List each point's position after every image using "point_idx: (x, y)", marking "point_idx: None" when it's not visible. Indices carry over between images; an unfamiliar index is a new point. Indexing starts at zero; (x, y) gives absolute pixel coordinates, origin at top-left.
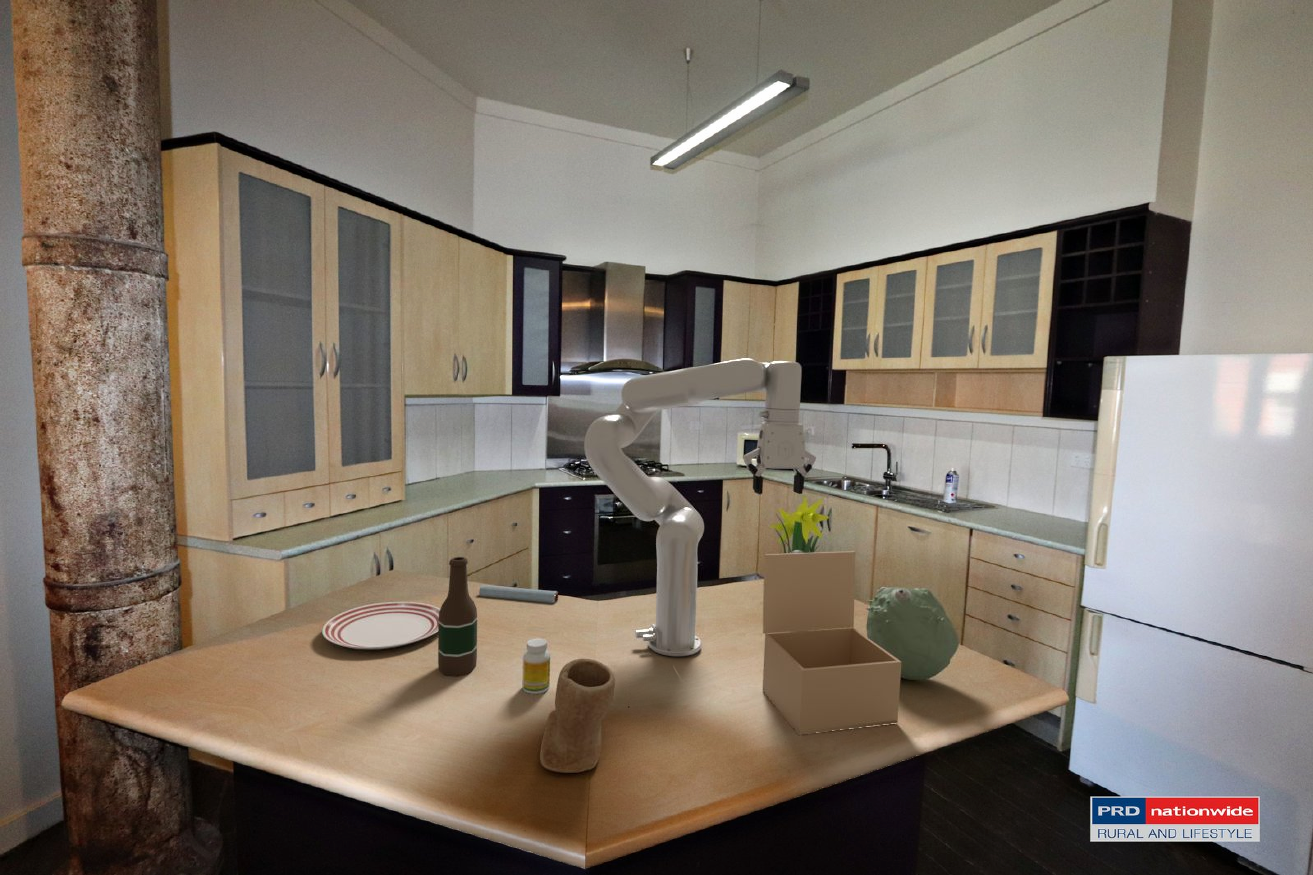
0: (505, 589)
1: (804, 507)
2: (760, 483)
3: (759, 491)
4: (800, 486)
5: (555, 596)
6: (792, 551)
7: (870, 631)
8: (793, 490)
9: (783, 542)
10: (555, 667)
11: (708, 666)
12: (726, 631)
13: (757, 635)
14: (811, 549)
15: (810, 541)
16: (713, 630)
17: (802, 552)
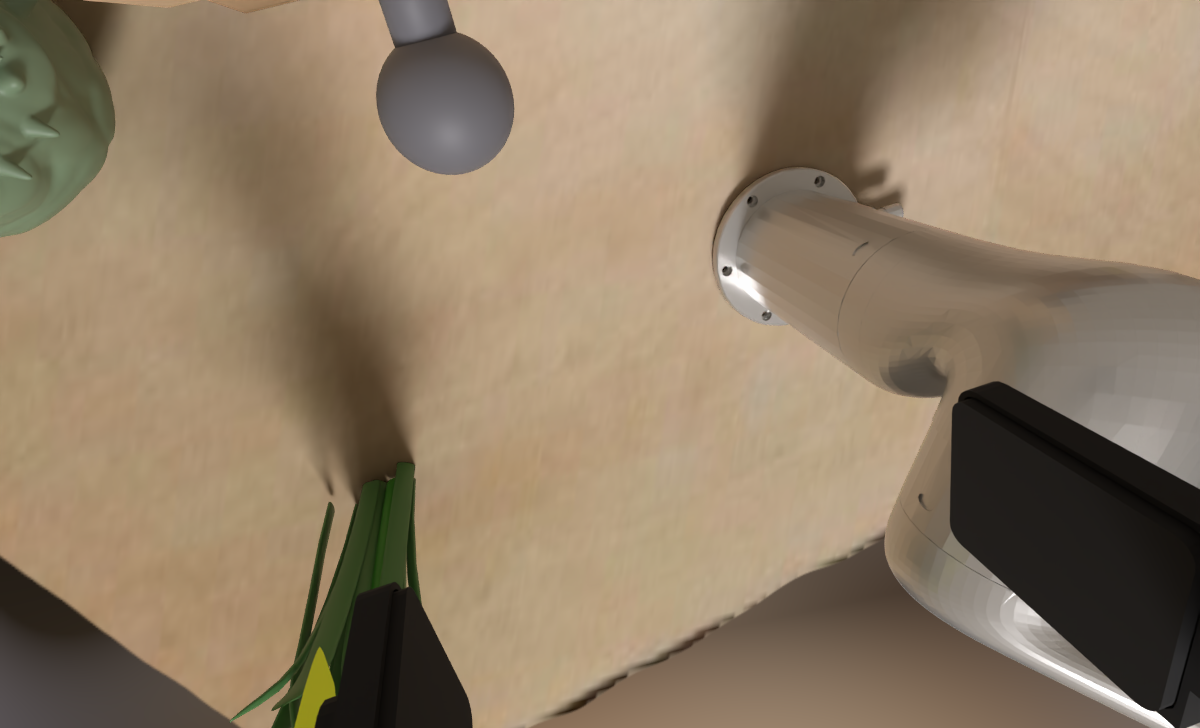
0: None
1: None
2: (1131, 452)
3: (1020, 398)
4: (383, 674)
5: None
6: (489, 122)
7: (82, 81)
8: (470, 711)
9: None
10: (1105, 70)
11: (710, 110)
12: (621, 367)
13: (528, 354)
14: (290, 702)
15: (292, 691)
16: (658, 368)
17: (415, 80)
